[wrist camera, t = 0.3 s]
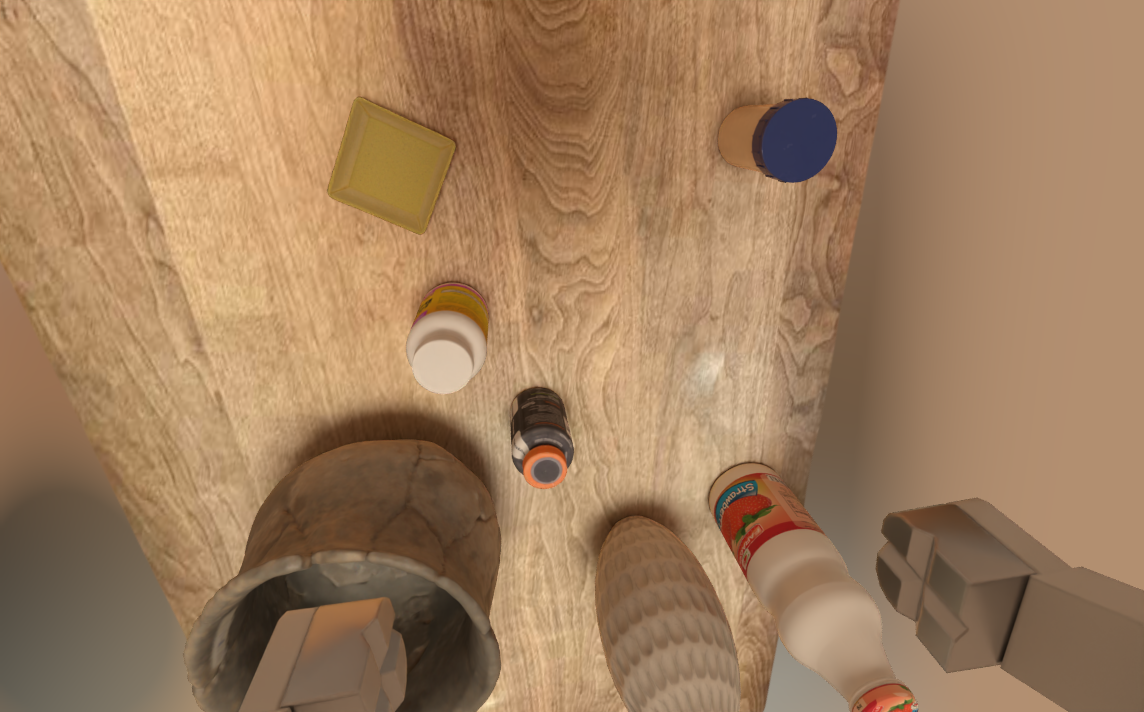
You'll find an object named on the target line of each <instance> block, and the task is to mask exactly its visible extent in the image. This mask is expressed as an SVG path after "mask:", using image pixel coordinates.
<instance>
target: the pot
mask: <svg viewBox="0 0 1144 712" xmlns="http://www.w3.org/2000/svg"><path fill="white" fill-rule="evenodd" d="M500 552H501V534H500V529H499V525H498V522H497V516H496V512H495V508H494V505H493V502H492V499H491V496H490V494H489V492H488V490H487V489H486V487H485V486H484V484H483V483H482V482H481V481H480V479H479V478H478V477H477V476H476V475H475V474H474V473H473V472H472V471H471V470H469V469H468V468H467V467H466V466H465V465H464V464H463V463H462V462H461V461H459V460H458V459H457V458H456V457H454V456H453V455H452V454H451V453H449V452H448V451H447V450H445V449H444V448H442V447H440V446H439V445H437V444H435V443H433V442H430V441H422V440H414V439H401V440H376V441H364V442H356V443H352V444H348V445H344V446H341V447H338V448H336V449H333V450H331V451H328V452H326V453H323V454H320V455H318V456H316V457H314V458H312V459H310V460H308V461H306V462H304V463H303V464H301V465H300V466H298V467H297V468H295V469H294V470H293V471H291V472H290V473H289V474H288V475H286V476H285V477H284V478H283V479H282V480H281V481H280V482H279V483H278V484H277V485H276V487H275V488H274V489H273V490H272V492H271V493H270V494H269V496H268V497H267V498H266V500H265V501H264V503H263V504H262V506H261V508H260V510H259V511H258V513H257V515H256V518H255V520H254V522H253V525H252V528H251V531H250V535H249V538H248V541H247V545H246V550H245V556H244V560H243V563H242V566H241V569H240V571H239V574H238V575H237V576H236V577H234V578H233V579H231V580H230V581H229V582H228V583H227V584H226V585H225V586H223V587H222V588H221V589H219V590H218V591H217V592H216V594H215V595H214V597H213V598H211V599H210V600H209V601H208V602H207V603H206V605H205V607H204V609H203V612H202V614H201V615H200V616H199V617H198V618H197V620H196V621H195V623H194V625H193V628H192V630H191V633H190V635H189V637H188V639H187V641H186V645H185V650H184V653H183V657H184V662H185V665H186V667H187V671H188V681H189V682H190V683H191V684H192V685H193V686H192V692H193V695H194V697H195V699H196V702H197V704H198V706H199V707H200V708H201V709H202V710H203V711H204V712H239V710H240V707H241V705H242V703H243V700H244V698H245V696H246V693H247V691H248V689H249V687H250V684H251V682H252V680H253V677H254V675H255V673H256V671H257V668H258V666H259V664H260V661H261V659H262V657H263V654H264V652H265V650H266V648H267V645H268V643H269V641H270V638H271V636H272V634H273V631H274V629H275V627H276V625H277V622H278V620H279V619H280V618H281V617H282V616H283V615H284V614H285V613H286V612H287V611H292V610H299V609H307V608H314V607H320V606H323V605H330V604H337V603H344V602H352V601H359V600H366V599H373V598H380V597H387V598H390V601H391V604H392V607H393V609H394V612H395V616H394V621H393V627H392V628H393V629H394V630H396V631H397V632H399V633H400V634H402V638H403V641H404V645H405V651H406V658H407V683H406V690H405V697H404V701H403V702H402V703H401V704H400V706H399V707H398V708H397V710H396V711H395V712H476V711H477V710H478V709H479V708H480V707H481V706H482V705H483V704H484V703H485V702H486V701H487V699H488V698H489V696H490V695H491V693H492V691H493V689H494V687H495V685H496V682H497V680H498V678H499V675H500V670H501V660H500V650H499V645H498V642H497V639H496V636H495V634H494V631H493V629H492V627H491V625H490V620H489V615H490V609H491V604H492V600H493V595H494V590H495V586H496V581H497V575H498V570H499V564H500Z"/></svg>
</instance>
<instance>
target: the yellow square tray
mask: <svg viewBox="0 0 1144 712" xmlns="http://www.w3.org/2000/svg"><path fill="white" fill-rule="evenodd" d="M455 148H456V144H455V142H454V141H453V140H451V139H449V138H447V137H445V136H443V135H441V134H439V133H436V132H434V131H432V130H430V129H428V128H426V127H423V126H421V125H419V124H417V123H415V122H412V121H410V120H408V119H406V118H404V117H402V116H400V115H397V114H396V113H393V112H391V111H389V110H387V109H385V108H383V107H380V106H378V105H376V104H374V103H372V102H370V101H368V100H366V99H364V98H362V97H357V98H356V99H355V100H354V102H353V104H352V108H351V111H350V115H349V118H348V122H347V125H346V129H345V132H344V136H343V139H342V142H341V146H340V149H339V152H338V156H337V159H336V162H335V166H334V169H333V172H332V176H331V179H330V182H329V185H328V189H327V192H328V195H329V196H330V197H331V198H333V199H335V200H337V201H339V202H342V203H344V204H347V205H349V206H352V207H354V208H357V209H359V210H361V211H364V212H366V213H369V214H371V215H373V216H376V217H379V218H381V219H383V220H385V221H388V222H390V223H392V224H395V225H397V226H400V227H402V228H405V229H407V230H409V231H412V232H414V233H416V234H418V235H421V234H423V233H424V232H425V231H426V229H427V226H428V223H429V220H430V218H431V215H432V212H433V209H434V206H435V204H436V201H437V198H438V195H439V193H440V190H441V187H442V184H443V182H444V179H445V176H446V173H447V171H448V168H449V165H450V163H451V160H452V157H453V154H454V151H455Z"/></svg>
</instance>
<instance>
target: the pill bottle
mask: <svg viewBox="0 0 1144 712" xmlns="http://www.w3.org/2000/svg"><path fill="white" fill-rule="evenodd" d="M510 425H511V445H512V459H513V462H514V465H515V466H516V468H517V469H518V471H519V472H521V473H522V474H523V475H524V477H525V479H526V481H527V482H528V483H529V484H530V485H532V486H533V487H536V488H540V489H548V488H552V487H555V486H557V485H558V484H559V483H561V482H562V481H563V479H564V478H565V476H566V473H567V469H568V467H569V466H570V464H571V462H572V460H573V455H574V448H573V443H572V439H571V434H570V429H569V425H568V421H567V417H566V412H565V407H564V404H563V402H562V400H561V398H560V397H559V396H558V395H557V394H556V393H554V392H553V391H551V390H548V389H545V388H533V389H528V390H526V391H524V392H522V393H521V394H519V395H518V396H517V397H516V398H515V400H514V401H513V403H512V405H511V409H510Z"/></svg>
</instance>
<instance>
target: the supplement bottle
mask: <svg viewBox="0 0 1144 712" xmlns="http://www.w3.org/2000/svg"><path fill="white" fill-rule="evenodd" d="M488 321H489V313H488V308H487V305H486V303H485V301H484V299H483V298H482V296H481V295H480V294H479V293H478V292H477V291H476V290H474V289H473V288H471V287H469V286H467V285H465V284H461V283H445V284H441V285H439V286H437V287H435V288H433V289H432V290H431V291H429V292H428V293H427V295H426V296H425V297H424V299H423V301H422V303H421V305H420V308H419V310H418V312H417V315H416V318H415V320H414V323H413V325H412V328H411V330H410V333H409V335H408V338H407V343H406V353H407V358H408V361H409V363H410V365H411V367H412V371H413V374H414V377H415V379H416V380H417V382H418V383H419V384H420V385H421V386H422V387H423V388H425V389H427V390H428V391H431V392H433V393H437V394H449V393H454V392H456V391H458V390H460V389H462V388H463V387H464V386H465V385H466V384H467V383H468V382H469V380H470V379H472V378H473V377H474V376H475V375H476V374H477V373H478V372H479V371H480V370H481V368H482V366H483V364H484V362H485V359H486V354H487V336H488Z"/></svg>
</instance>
